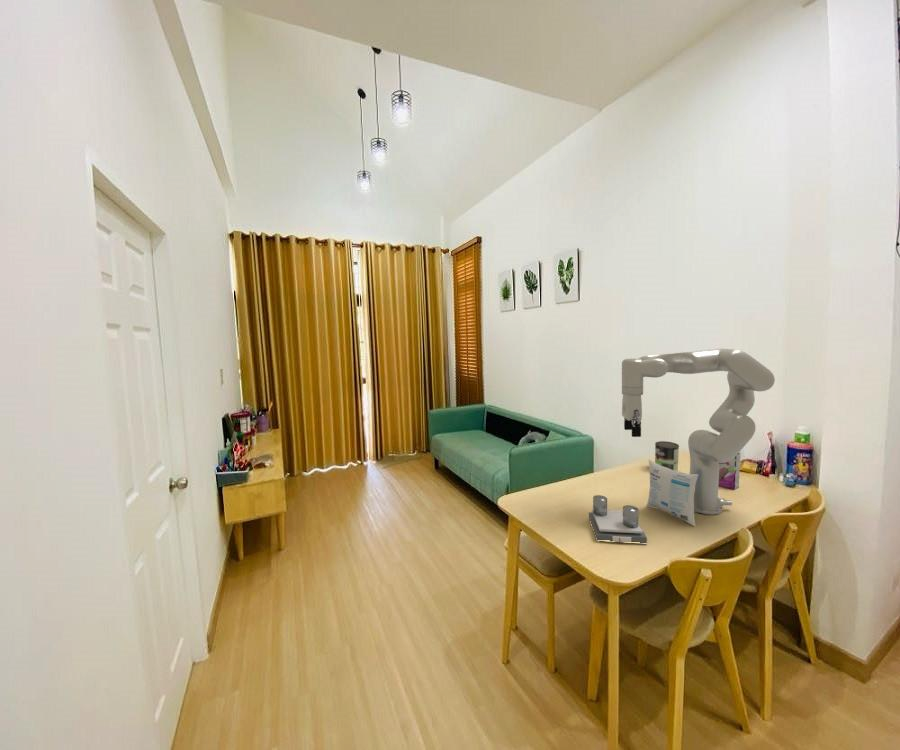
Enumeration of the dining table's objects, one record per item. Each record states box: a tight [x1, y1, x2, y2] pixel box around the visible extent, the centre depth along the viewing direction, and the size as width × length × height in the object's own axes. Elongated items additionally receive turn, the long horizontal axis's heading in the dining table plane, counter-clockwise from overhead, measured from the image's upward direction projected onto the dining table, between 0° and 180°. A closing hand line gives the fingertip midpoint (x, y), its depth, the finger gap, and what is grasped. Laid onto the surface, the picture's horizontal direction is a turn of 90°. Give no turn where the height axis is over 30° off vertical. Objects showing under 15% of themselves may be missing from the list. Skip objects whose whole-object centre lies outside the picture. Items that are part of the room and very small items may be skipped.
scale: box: [588, 509, 648, 544], centre depth 134 cm, size 16×17×4 cm
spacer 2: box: [622, 504, 640, 528], centre depth 130 cm, size 5×5×6 cm
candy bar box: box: [719, 451, 742, 491], centre depth 166 cm, size 11×5×16 cm, turn 34°
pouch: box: [646, 459, 698, 528], centre depth 142 cm, size 8×19×20 cm, turn 24°
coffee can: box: [654, 440, 680, 471], centre depth 184 cm, size 10×10×14 cm
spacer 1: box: [592, 494, 608, 517], centre depth 139 cm, size 5×5×6 cm
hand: (632, 433), depth 145 cm, fingers open, 9 cm apart
